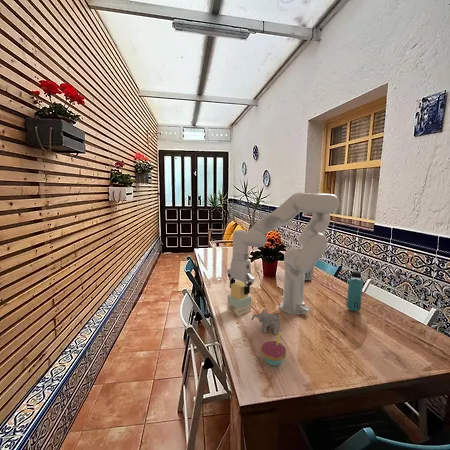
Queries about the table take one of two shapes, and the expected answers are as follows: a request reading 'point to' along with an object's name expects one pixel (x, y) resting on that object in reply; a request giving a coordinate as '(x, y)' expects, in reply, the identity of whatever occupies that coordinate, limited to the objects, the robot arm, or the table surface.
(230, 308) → the tower base
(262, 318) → the gray elephant figurine
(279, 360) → the cupcake
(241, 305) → the pale green square block
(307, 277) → the icon cube
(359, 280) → the beverage bottle
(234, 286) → the block
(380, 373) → the table surface
